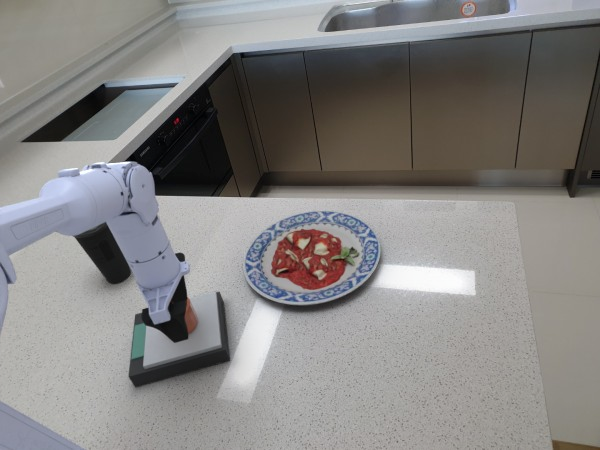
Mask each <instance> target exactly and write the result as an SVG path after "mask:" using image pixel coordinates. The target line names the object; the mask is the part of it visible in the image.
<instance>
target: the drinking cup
mask: <svg viewBox="0 0 600 450" xmlns="http://www.w3.org/2000/svg"><path fill="white" fill-rule="evenodd" d="M72 237H73V238H74V239H75V240H76V241H77V243H78V244H79V246H80V247H81V248H82V250H83V251H84V252H85V253H86V255H87V256H88V257H89V259H90V260H91V261H92V263H93V264H94V265H95V267H96V268H97V270H98V271H99V272H100V274H102V276H103V277H104V279H105V280H106V282H108V283H109V284H111V285H116V284H120V283H123V282H124V281H125V280H127V279H128V278H129V277H130V276H131V273H132V270H131V268H130V267H129V265H128V263H127V261H126V259H125V257H124V255H123V253H122V251H121V249H120V247H119V246H118V244H117V242H116V240H115V238H114V236H113V234H112V232H111V230H110V229H109V227H108V225H107V223H106V222H104V223H102V224H100V225H98V226H96V227H94V228H92V229H90V230H87V231H85V232H83V233H81V234H78V235H75V236H72Z"/></svg>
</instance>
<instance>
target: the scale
mask: <svg viewBox="0 0 600 450" xmlns="http://www.w3.org/2000/svg"><path fill="white" fill-rule="evenodd" d="M188 298H189V299H190V301H191V303H192V305H193V308H194V310H195V312H196V314H197V318H198V322H197V325H196V327H195V329H194V330H193V331H192V332H191V333H190V334H188V339H187V340H184V341H180V342H177V343H174V342H173V341H171V340H170V339H169V338H168V337H167V336H166V335H165V334H163V333H162V332H161V331H159V330H157V329H155V328H153V327H149V326H146V325H145V324H144V323H143V321H142V312H139V313H135V314H134V320H133V331H132V339H131V350H130V359H129V367H128V368H129V369H128V377H127V378H128V379H129V380H130V381H131V384H133V386H134V387H135V388H137V387H142V386H144V385H148V384H152V383H155V382H158V381H162V380H166V379H169V378H172V377H176V376H181V375H184V374H187V373H191V372H195V371H198V370H201V369H206V368H208V367H212V366H215V365H219V364H223V363H227V362H230V361H231V356H230V346H229V337H228V328H227V319H226V310H225V309H226V308H225V301H224V299H223V296H222V294H221V291H214V290H213V291H210V292H206V293H203V294H199V295H195V296H192V297H188Z"/></svg>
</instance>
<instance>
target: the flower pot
mask: <svg viewBox="0 0 600 450" xmlns="http://www.w3.org/2000/svg"><path fill="white" fill-rule="evenodd" d="M189 298H190V297H188V296H187V300H186V313H185V321H186V324H187V328H188V334H190V333H191V332H192V331H193V330H194V329H195V327H196V325H197V322H198V318H197V314H196V312H195V310H194V308H193V305H192V303H191V301H190V299H189ZM170 302H171V301H170ZM172 303H173V302H172Z"/></svg>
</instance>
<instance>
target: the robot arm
mask: <svg viewBox="0 0 600 450" xmlns="http://www.w3.org/2000/svg"><path fill="white" fill-rule="evenodd" d="M57 176H58V177H56V178H52V179H50V180H48V181H47V182H46V183H44V185H42V186H41V189H40V190H39V193H38V197H36V198H32V199H28V200H23V201H20V202H16V203H13V204H8V205H5V206H1V207H0V336H1V334H2V331H3V326H4V322H5V319H6V315H7V311H8V302H9V285H14V284H15V283H16V281H17V279H18V276H17V273H16V270H15V267H14V264H13V262H12V260H11V258H10V256H11V255H13V254H16V253H17V252H19V251H20V250H23V249H24V248H27V247H29V246H31V245H33V244H34V243H37V242H38V241H40V240H42V239H44V238H47V237H48V236H50V235H52V234H54V233H57V234H60V235H62V236H67V237H73V236H75V235H78V234H81V233H83V232H85V231H87V230H90V229H92V228H94V227H96V226H98V225H100V224H102V223H104V222H106V223H107V225H108V227H109V229H110V230H111V232H112V234H113V236H114V238H115V240H116V242H117V244H118V246H119V247H120V249H121V251H122V253H123V255H124V257H125V259H126V261H127V263H128V265H129V267H130V270H131V273H132V274H133V276H134V278H135V282H136V285H137V287H138V289H139V291H140V293H141V296H142V297H143V300H144V301H145V303H146V305H147V307H145V308H142V309H141V313H142V321H143V323H144V324H145V325H146V326H149V327H153V328H155V329H157V330H159V331H161V332H162V333H163V334H165V335H166V336H167V337H168V338H169V339H170V340H171V341H173V342H174V343H177V342H180V341H184V340H187V339H188V328H187V324H186V321H185V313H186V300H187V297H188V290H187V285H186V279H185V276H186V275H188V274H190V273H191V265H190V262H189V261H187V260H186V256H185V253H183V252H175V251H174V249H173V247H172V244H171V242H170V239H169V238H168V237H169V236H168V235H167V233H166V230H165V228H164V226H163V223H162V221H161V219H160V217H159V214H158V213H159V212H160V209H159V202H158V200H157V197H156V188H155V180H154V177H153V174H152V172H151V171H149V170H148V169H147V168H146V167H145V166H144V165H141V164H140V163H138V162H137V161H124V162H114V163H107V162H105V161H104V162H95V163H91V164H90V165H89V164H86V165H85V166H83V167H82V169H81V170H80V169H79V168H78V167H74V168H65V169H60V170H58V171H57ZM170 301H171V302H170ZM172 302H173V303H172ZM0 450H87V449H86V448H84V447H82V446H81V445H79V444H77V443H76V442H74V441H72V440H70V439H69V438H67V437H65V436H63V435H61V434H59V433H58V432H56V431H54V430H52V429H51V428H49V427H47V426H45V425H44V424H43V423H40V422H38V421H37V420H35V419H33V418H32V417H29V416H28V415H26V414H25V413H22V412H21V411H20V410H18V409H16V408H14V407H13V406H10V405H9V404H7V403H5V402H3V401H1V400H0Z"/></svg>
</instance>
